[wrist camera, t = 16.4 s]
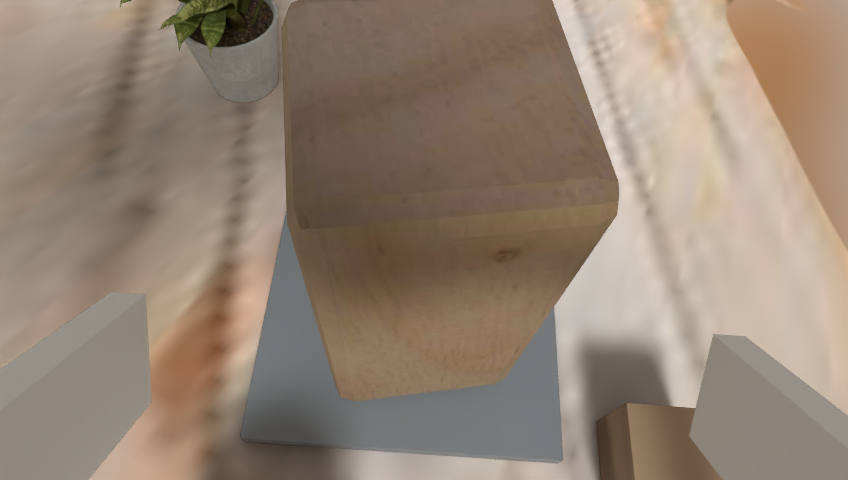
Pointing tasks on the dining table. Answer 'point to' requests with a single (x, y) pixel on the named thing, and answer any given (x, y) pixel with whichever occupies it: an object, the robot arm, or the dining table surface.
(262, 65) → the house plant
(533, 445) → the slate grey board
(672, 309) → the dining table surface
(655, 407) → the walnut cube
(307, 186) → the wooden block
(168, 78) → the dining table surface
